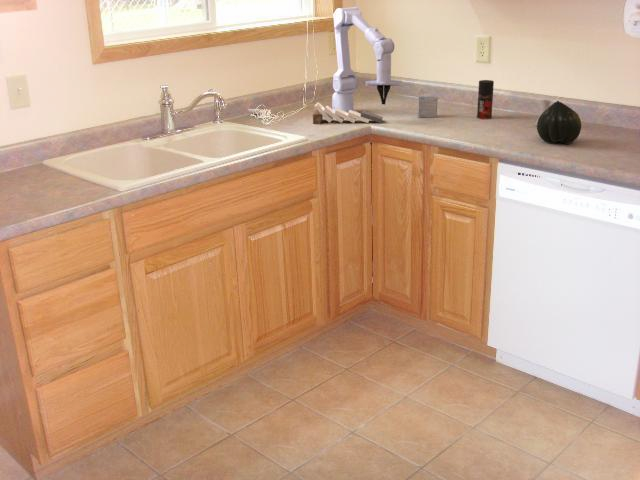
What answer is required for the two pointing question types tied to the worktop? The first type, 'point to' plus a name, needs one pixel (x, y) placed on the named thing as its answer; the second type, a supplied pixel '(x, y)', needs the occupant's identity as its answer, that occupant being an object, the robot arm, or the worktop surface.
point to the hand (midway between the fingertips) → (383, 104)
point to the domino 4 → (357, 116)
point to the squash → (559, 124)
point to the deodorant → (485, 99)
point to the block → (317, 117)
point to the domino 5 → (371, 116)
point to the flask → (543, 108)
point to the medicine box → (427, 105)
